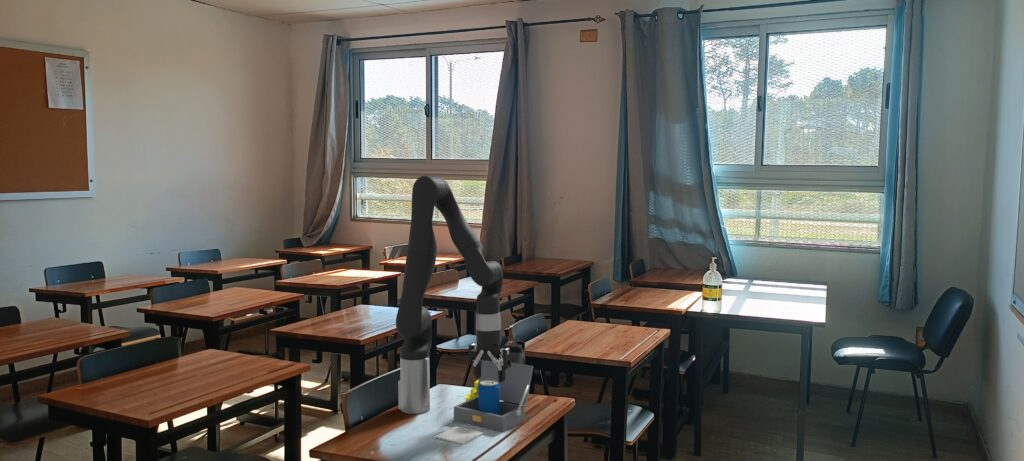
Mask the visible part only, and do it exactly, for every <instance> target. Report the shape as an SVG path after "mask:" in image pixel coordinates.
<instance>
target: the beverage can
mask: <svg viewBox="0 0 1024 461" xmlns="http://www.w3.org/2000/svg"><path fill="white" fill-rule="evenodd" d="M478 394H479V411H482V412H487V413H491V414H496V415H500V401H501V400H500V386H499V384H498V381H495V380H484V381H481V382H480V385H479V387H478Z"/></svg>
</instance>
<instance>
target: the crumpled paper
mask: <svg viewBox="0 0 1024 461" xmlns="http://www.w3.org/2000/svg"><path fill="white" fill-rule="evenodd" d="M478 380H479V378H478V379H477V380H476V381H474V387H473V386H472V387H471V389H470V393H467V394H466V397H465V402H466V401H468V400H470V399H472V398H475V397H479V396H477V395H476V391H477V385H478Z"/></svg>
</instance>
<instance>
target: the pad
mask: <svg viewBox="0 0 1024 461" xmlns="http://www.w3.org/2000/svg"><path fill="white" fill-rule="evenodd" d="M484 434H485V432H482V431H478V430H474V429H470V428H465V427H462V426H457V425H456V426H454V427H451V428H450V429H448V430H446V431H444V432H441V433H440V434H438V435H435V436H434V438H435V439H439V440H442V441H447V442H451V443H456V444H457V445H458V444H459V445H462V446H463V445H466V444H467V443H469V442H471V441H473V440H474V439H477V438H478V437H479V438H480V437H481V436H482V435H484Z"/></svg>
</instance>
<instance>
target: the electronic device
mask: <svg viewBox="0 0 1024 461" xmlns="http://www.w3.org/2000/svg"><path fill="white" fill-rule="evenodd" d="M503 348H504V349H506V348H510V355H511V362H512V363H518V364H524V365H526V342H525V341H524V340H519V339H518V340H517V339H510V340H508V341H507V342H506V343H505V344H504V345H503ZM503 402H506V403H511V404H516V405H519V404H517V403H512V402H507V401H503Z"/></svg>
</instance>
